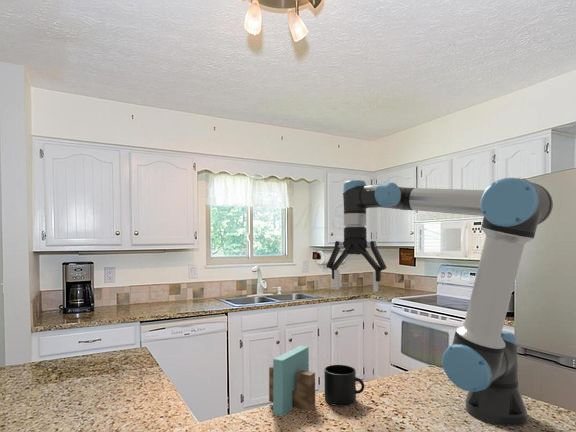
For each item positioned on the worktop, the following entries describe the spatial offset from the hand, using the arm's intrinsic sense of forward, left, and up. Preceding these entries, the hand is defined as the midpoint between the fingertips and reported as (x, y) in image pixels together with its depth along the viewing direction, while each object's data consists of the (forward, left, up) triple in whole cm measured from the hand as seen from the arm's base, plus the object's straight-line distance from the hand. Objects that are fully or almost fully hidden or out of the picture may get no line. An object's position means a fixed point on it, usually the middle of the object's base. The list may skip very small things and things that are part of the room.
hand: (355, 290), depth 129 cm
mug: (0, +11, -32) cm, 34 cm away
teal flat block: (+12, +22, -32) cm, 40 cm away
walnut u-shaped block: (+12, +22, -32) cm, 40 cm away
